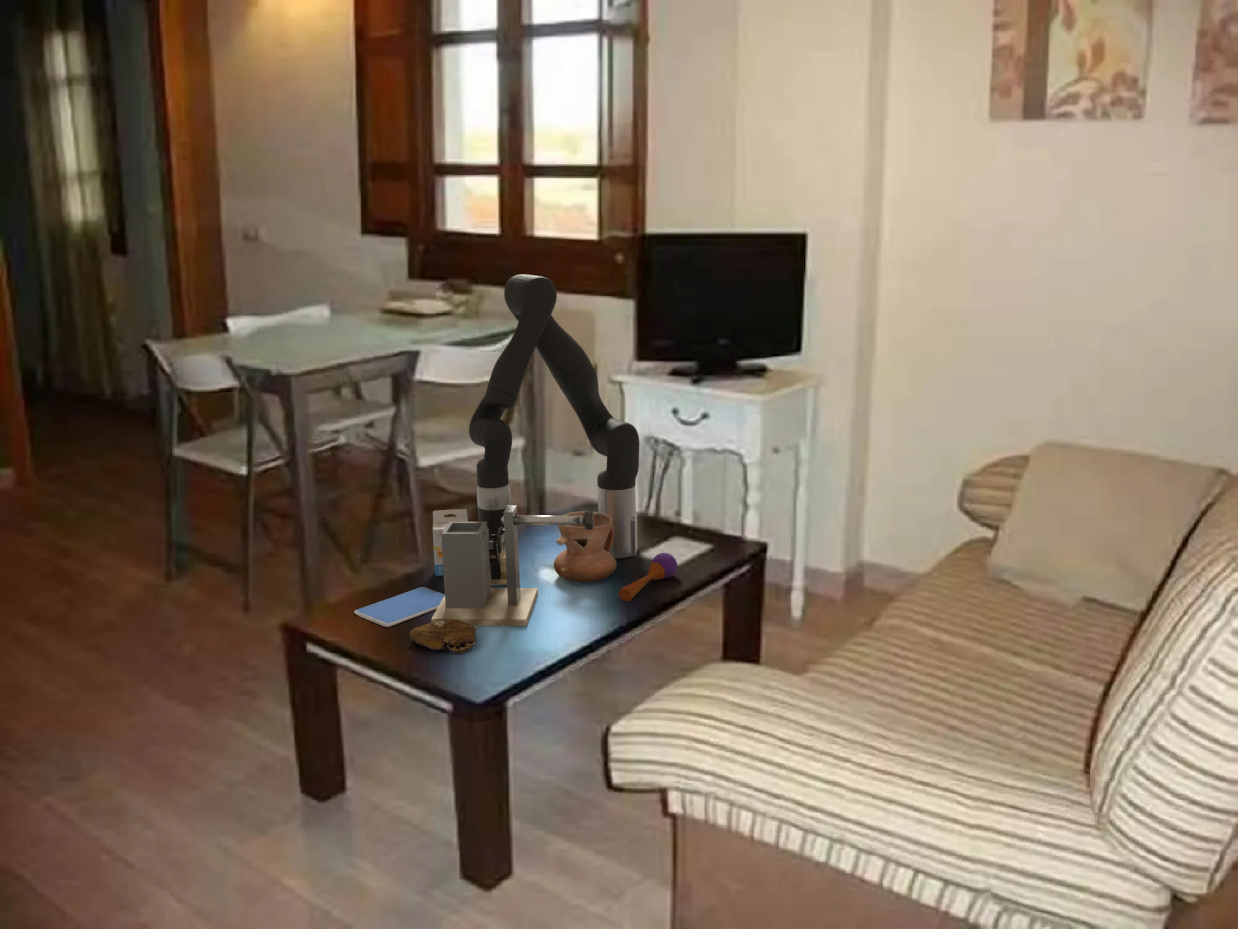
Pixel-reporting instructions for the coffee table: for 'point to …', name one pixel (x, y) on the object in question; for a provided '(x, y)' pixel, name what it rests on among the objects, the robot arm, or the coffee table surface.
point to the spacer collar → (503, 571)
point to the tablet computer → (401, 607)
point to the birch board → (493, 610)
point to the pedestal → (466, 565)
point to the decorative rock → (445, 635)
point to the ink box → (438, 528)
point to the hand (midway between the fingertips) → (498, 573)
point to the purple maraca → (651, 575)
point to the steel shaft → (555, 520)
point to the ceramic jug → (586, 550)
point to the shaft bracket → (512, 556)
